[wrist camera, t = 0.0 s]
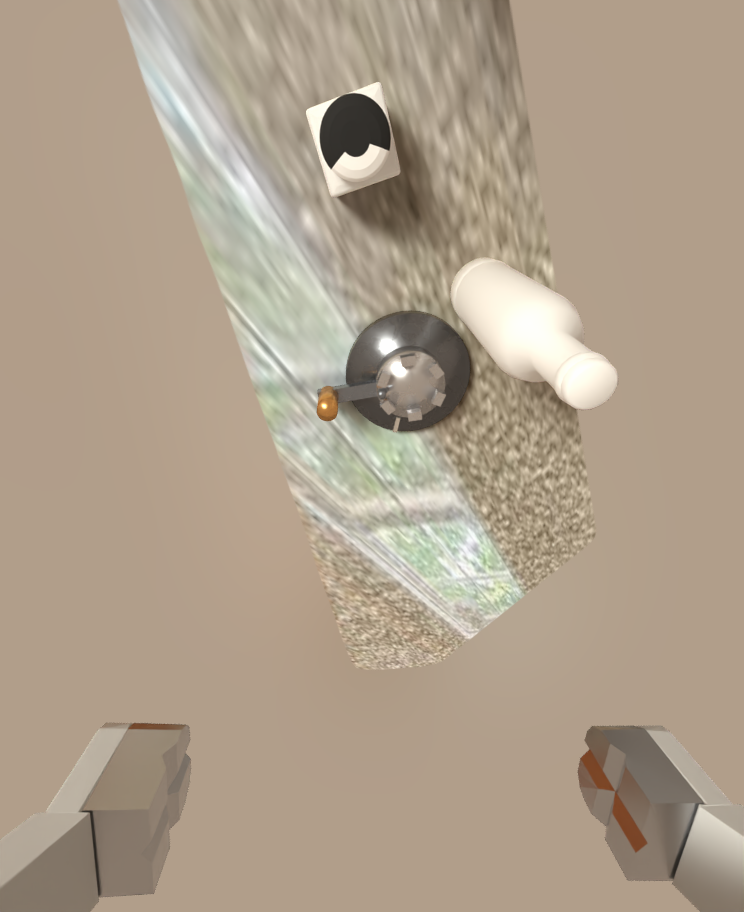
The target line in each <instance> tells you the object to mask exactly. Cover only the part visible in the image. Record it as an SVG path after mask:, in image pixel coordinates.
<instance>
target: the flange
mask: <svg viewBox="0 0 744 912" xmlns="http://www.w3.org/2000/svg"><path fill="white" fill-rule="evenodd" d="M403 346H418V347H421V348H424V349H426V350H428V351H429V352H431V353H432V354H433V355H434V356H435V357H436V359H437V361H438V363H439V365H440V367H441V368H442V370H443V371H444V373H445V374H444V376H445V390H444V392H445V393H446V396H445V398H444V400H443V402H442V404H441V406H437V405H436V406H435V407H434V408H433V409H432V410H431V411H429V412H427V413H425V414H423V415H422V420H416V421H410V422H409V420H408V417H400V416H397V415H394V414H392V413H391V414H390V415H388V414H387V413H386V412H385V411H384V409H383V408H382V407H381V406H380V401H379V398H378V396H376V397H370V398H364V399H358V400H352V402H353V403H354V405H355V407H356V408H357V409H358V411H359V412H360V413H361V414H362V415H363V416H364V417H366V418H367V419H368V420H369V421H371V422H373V423H374V424H376V425H378V426H381V427H383V428H387V429H390V430H393V432H397V431H413V430H418V429H422V428H425V427H428V426H431V425H433V424H435V423H437V422H438V421H440V420H442V419H443V418H444V417H446V416H447V415H448V414H449V413H450V412H452V411H453V409H454V408H455V407H456V406H457V405H458V403H459V402H460V400H461V399H462V397H463V395H464V393H465V391H466V388H467V386H468V382H469V377H470V361H469V356H468V352H467V350H466V347H465V345H464V343H463V341H462V339H461V338H460V337H459V335H458V334H457V333H456V331H455V330H454V329H453V328H452V327H451V326H450V325H449V324H448V323H446V322H445V321H444V320H442V319H440V318H438V317H437V316H434V315H432V314H429V313H425V312H420V311H401V312H396V313H392V314H389V315H386V316H384V317H382V318H380V319H378V320H376V321H375V322H373V323H372V324H370V325H369V326H368V327H367V328H366V329H365V330H364V331H363V332H362V333H361V334H360V335H359V336H358V338H357V339H356V341H355V342H354V344H353V346H352V348H351V350H350V353H349V356H348V360H347V365H346V383H347V384H352V383H358V382H364V381H370V380H375V378H376V371H377V368H378V366H379V363H380V362H381V360H382V359H383V358H384V357H385V356H386V355H387V354H388V353H389V352H391V351H393V350H394V349H397V348H399V347H403Z"/></svg>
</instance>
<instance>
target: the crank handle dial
mask: <svg viewBox="0 0 744 912" xmlns="http://www.w3.org/2000/svg"><path fill="white" fill-rule="evenodd" d="M444 374H445V373H444V371H443V370H442V368H441V367H440V365H439V363H438V361H437V359H436V357H435V356H434V355H433V354H432V353H431V352H429V351H428V350H426V349H424V348H421V347H418V346H403V347H399V348H397V349H394V350H393V351H391V352H389V353H388V354H387V355H386V356H385V357H384V358H383V359H382V360H381V362H380V363H379V366H378V368H377V371H376V378H375V380H370V381H364V382H358V383H352V384H346V385H340V386H334V387H331V386H326V387H323V388H322V389H318V392H317V393H318V397H319V399H318V406H317V415H318V417H319V418H320V419H322V420H324V421H331V420H333V419H335V418H336V416H337V413H338V403H340V402H346V401H352V400H358V399H364V398H370V397H376V396H378V398H379V401H380V406H381V407H382V408H383V409H384V411H385V412H386V413H387V414H388V415H390V414H391V413H392V414H394V415H397V416H400V417H408V420H409V422H410V421H416V420H422V415H423V414H425V413H427V412H429V411H431V410H432V409H433V408H434V407H435V406H436V405H437V406H441V404H442V402H443V400H444V398H445V396H446V393H445V392H444V390H445V376H444Z"/></svg>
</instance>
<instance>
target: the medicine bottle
mask: <svg viewBox="0 0 744 912" xmlns="http://www.w3.org/2000/svg"><path fill="white" fill-rule="evenodd" d="M306 115H307V118H308V122H309V125H310V128H311V132H312V135H313V138H314V142H315V145H316V148H317V152H318V155H319V158H320V162H321V165H322V168H323V172H324V175H325V178H326V182H327V185H328V188H329V192H330V195H331V196H332V197H333V198H335V197H338V196H341V195H344V194H347V193H349V192H352V191H355V190H358V189H361V188H363V187H366V186H369V185H372V184H375V183H378V182H380V181H383V180H386V179H389V178H392V177H394V176H397V175H399V174H400V165H399V161H398V156H397V151H396V147H395V142H394V138H393V133H392V128H391V124H390V119H389V114H388V110H387V105H386V101H385V96H384V91H383V87H382V84H381V83H380V82H376V83H374V84H371V85H369V86H366V87H363V88H361V89H358V90H356V91H353V92H350V93H348V94H345V95H343V96H340V97H337V98H335V99H332V100H330V101H327V102H324V103H322V104H319V105H317V106H314V107H311V108H309V109H308V110H307V112H306Z"/></svg>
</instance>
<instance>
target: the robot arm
mask: <svg viewBox="0 0 744 912" xmlns="http://www.w3.org/2000/svg"><path fill="white" fill-rule="evenodd" d="M189 742H190V730H189V726H188V725H182V724H181V725H180V724H151V723H105V724H104V725H103V726H102V727H101V728H100V729H99V730H98V731H97V732H96V734H95V735H94V737H93V738H92V740H91V742H90V743H89V745H88V746H87V748H86V749H85V751H84V752H83V754H82V756H81V757H80V759H79V760H78V762H77V763H76V765H75V767H74V768H73V770H72V771H71V773H70V774H69V776H68V778H67V779H66V781H65V782H64V784H63V785H62V787H61V788H60V790H59V791H58V793H57V795H56V796H55V798H54V799H53V801H52V803H51V804H50V806H49V807H48V809H47V810H46V812H45V813H35V814H34V815H32V816H31V817H29V818H28V819H27V820H26V821H24V822H23V823H22V824H20V825H19V826H18V827H16V828H15V829H14V830H12V831H11V832H10V833H8V834H7V835H6V836H5V837H3V838H2V839H0V912H90V911H91V910H92V909H93V908H94V906H95V905H96V904H97V903H98V902H99V897H111V896H112V897H113V896H127V895H144V894H154V892H155V888H156V886H157V883H158V880H159V877H160V874H161V872H162V869H163V866H164V863H165V860H166V857H167V854H168V851H169V849H170V839H169V830H170V828H172V826H174V825H175V823H177V822H178V820H179V819H180V816H181V813H182V810H183V807H184V804H185V801H186V796H187V792H188V787H189V782H190V773H191V759H190V757H189V756H188V755H187V754H186V753H185V752H186V750H187V747H188V744H189ZM585 742H586V744H587V745H588V747H589V750H588V751H587V752H586V753H585V754H584V755H583V756H582V757H581V758H580V763H579V768H578V776H579V784H580V789H581V792H582V795H583V798H584V800H585V802H586V804H587V806H588V808H589V810H590V812H591V814H592V815H594V816H595V817H596V818H597V819H598V820H599V821H600V822H602V823H603V824H604V825H605V826H606V834H605V840H606V842H607V844H608V845H609V847H610V849H611V851H612V853H613V854H614V856H615V858H616V860H617V862H618V864H619V866H620V867H621V869H622V871H623V873H624V875H625V877H626V878H627V880H637V881H638V880H639V881H642V880H643V881H647V880H648V881H673V883H672V884H673V885H674V886H675V887H676V888H677V889H678V890H679V891H680V892H681V893H682V894H683V895H684V896H685V897H686V898H687V899H688V900H689V901H690V902H691V903H692V904H693V905H694V906H695V907H696V908H697V909H698V910H699V911H700V912H744V807H743V806H742V805H740V804H732V803H731V802H730V801H729V799H728V798H727V797H726V796H725V795H724V794H723V792H722V791H721V790H720V789H719V788H718V787H717V786H716V784H715V783H714V782H713V781H712V780H711V779H710V777H709V776H708V775H707V774H706V773H705V772H704V770H703V769H702V768H701V767H700V766H699V765H698V763H697V762H696V761H695V760H694V759H693V758H692V756H691V755H690V754H689V753H688V752H687V751H686V750H685V748H684V747H683V746H682V745H681V744H680V743H679V741H678V740H677V739H676V738H675V737H674V736H673V735H672V733H671V732H670V731H669V730H667V729H665V728H664V727H663V726H592V727H591V728H590V729H589V730H588V731H587V734H586V738H585Z"/></svg>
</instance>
